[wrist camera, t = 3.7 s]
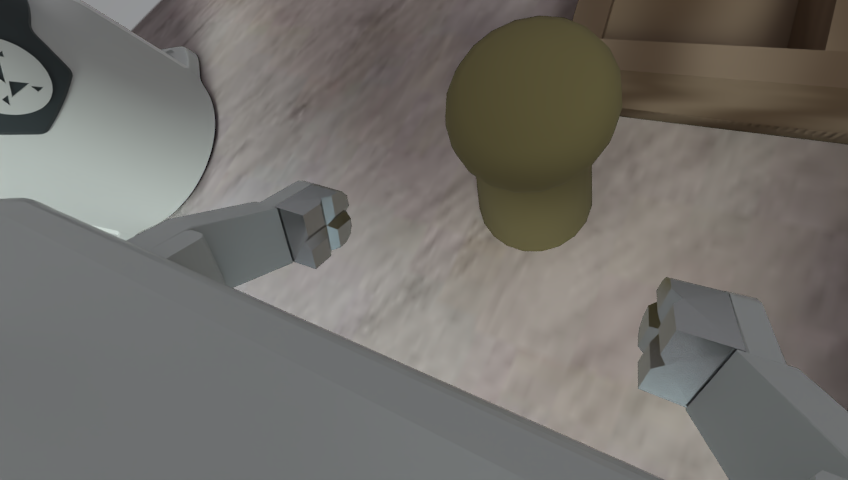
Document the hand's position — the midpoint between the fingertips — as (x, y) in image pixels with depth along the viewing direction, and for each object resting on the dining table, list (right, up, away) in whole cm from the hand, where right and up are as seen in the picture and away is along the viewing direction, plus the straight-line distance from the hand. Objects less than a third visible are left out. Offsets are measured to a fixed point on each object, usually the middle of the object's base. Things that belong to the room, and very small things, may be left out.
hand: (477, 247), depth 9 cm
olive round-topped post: (+5, +3, +11) cm, 12 cm away
